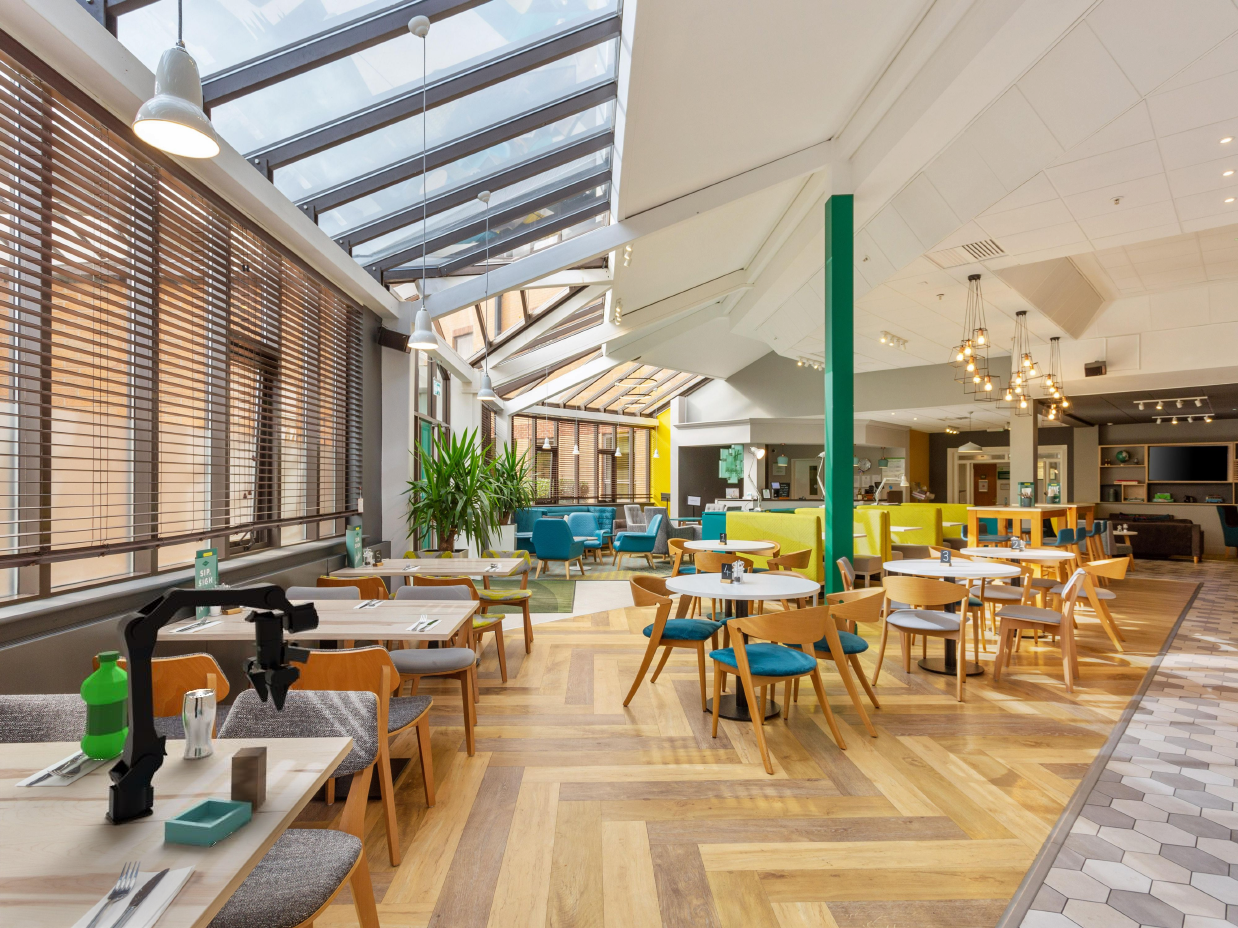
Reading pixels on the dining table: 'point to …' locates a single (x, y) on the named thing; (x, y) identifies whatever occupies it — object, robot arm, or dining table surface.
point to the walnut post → (249, 776)
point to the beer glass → (199, 722)
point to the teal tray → (207, 822)
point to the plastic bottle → (105, 708)
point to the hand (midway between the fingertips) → (272, 706)
